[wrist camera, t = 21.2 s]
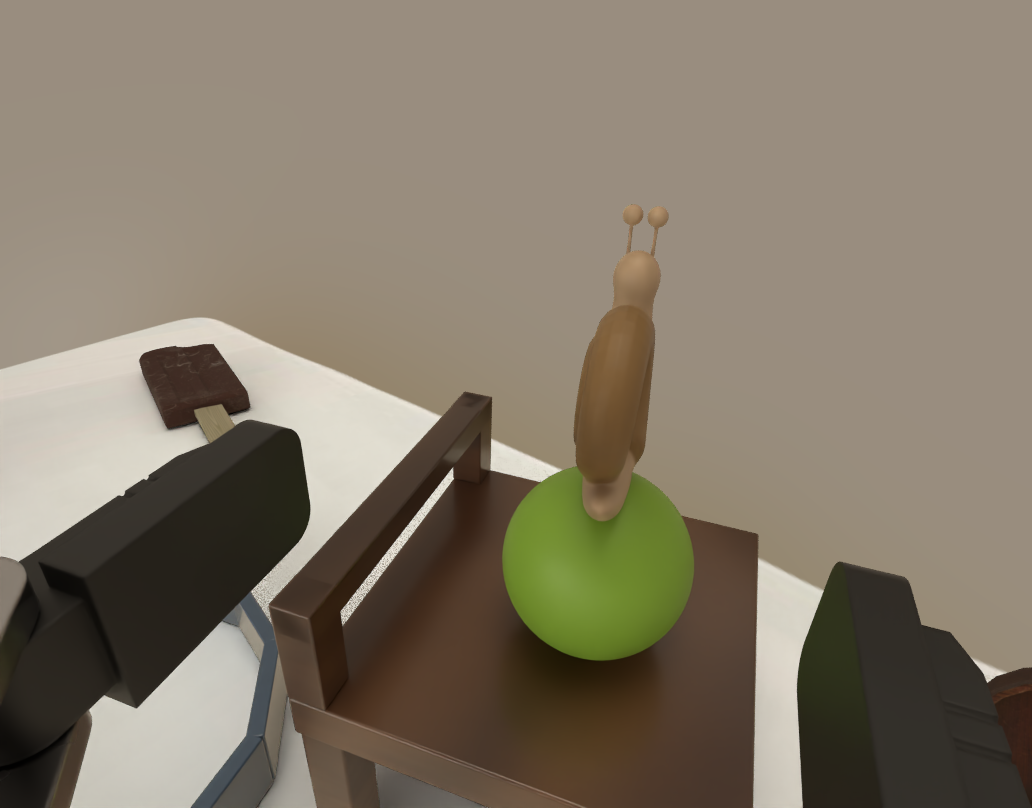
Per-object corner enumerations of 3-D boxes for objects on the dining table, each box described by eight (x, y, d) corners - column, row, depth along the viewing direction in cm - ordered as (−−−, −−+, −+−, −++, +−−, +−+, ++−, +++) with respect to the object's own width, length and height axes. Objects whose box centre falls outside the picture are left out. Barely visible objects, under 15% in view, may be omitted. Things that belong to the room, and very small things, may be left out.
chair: (316, 837, 20) (266, 604, 15) (464, 583, 30) (464, 390, 25) (695, 1006, 17) (793, 780, 12) (722, 659, 27) (781, 455, 22)
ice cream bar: (272, 441, 40) (214, 356, 51) (268, 419, 40) (210, 338, 50) (183, 467, 38) (141, 371, 48) (177, 444, 37) (135, 352, 47)
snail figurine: (677, 560, 22) (752, 212, 16) (675, 724, 17) (788, 288, 11) (527, 532, 23) (547, 195, 17) (478, 679, 18) (485, 257, 12)
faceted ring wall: (-390, 910, 18) (-452, 865, 17) (86, 562, 31) (71, 521, 29) (-9, 1194, 14) (-54, 1162, 13) (361, 656, 27) (356, 613, 25)
